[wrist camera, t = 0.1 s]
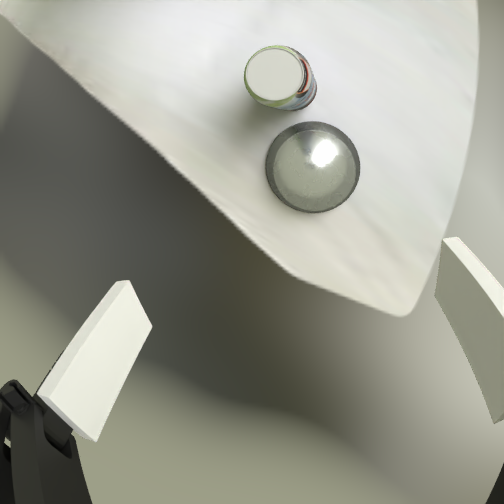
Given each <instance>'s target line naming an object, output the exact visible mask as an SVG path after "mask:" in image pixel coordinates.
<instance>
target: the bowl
mask: <svg viewBox="0 0 504 504" xmlns="http://www.w3.org/2000/svg"><path fill="white" fill-rule="evenodd" d="M266 172H267V177H268V181H269V183H270V186H271V188H272V190H273V191H274V193H275V194H276V195H277V197H278V198H279V199H280V200H281V201H283V202H284V203H285V204H286V205H288V206H290V207H292V208H294V209H296V210H299V211H302V212H308V213H319V212H325V211H328V210H331V209H334V208H336V207H338V206H339V205H341V204H342V203H343V202H345V201H346V200H347V199H348V198H349V197H350V195H351V194H352V193H353V191H354V189H355V187H356V185H357V183H358V180H359V175H360V161H359V156H358V153H357V150H356V148H355V146H354V144H353V143H352V141H351V140H350V139H349V138H348V137H347V136H346V135H345V134H344V133H343V132H342V131H340V130H339V129H337V128H336V127H334V126H332V125H329V124H326V123H322V122H314V121H310V122H302V123H298V124H295V125H293V126H291V127H289V128H287V129H286V130H284V131H283V132H282V133H281V134H280V135H279V136H278V137H277V138H276V139H275V141H274V142H273V144H272V145H271V148H270V150H269V153H268V156H267V162H266Z"/></svg>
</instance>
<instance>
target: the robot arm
mask: <svg viewBox="0 0 504 504" xmlns="http://www.w3.org/2000/svg"><path fill="white" fill-rule="evenodd" d="M435 298H436V299H437V301H438V303H439V304H440V306H441V308H442V310H443V312H444V314H445V315H446V317H447V319H448V321H449V322H450V325H451V327H452V328H453V330H454V332H455V334H456V336H457V338H458V340H459V342H460V344H461V346H462V348H463V350H464V352H465V354H466V357H467V359H468V361H469V363H470V365H471V368H472V370H473V372H474V374H475V377H476V379H477V381H478V384H479V386H480V388H481V391H482V394H483V396H484V399H485V401H486V404H487V407H488V409H489V412H490V415H491V418H492V420H493V423H494V424H495V423H497V422H499V421H502V420H503V419H504V289H503V288H502V286H501V285H500V284H499V283H498V281H497V280H496V279H495V278H494V277H493V275H492V274H491V273H490V272H489V271H488V270H487V268H486V267H485V266H484V265H483V264H482V263H481V262H480V260H479V259H478V258H477V257H476V256H475V255H474V254H473V253H472V252H471V251H470V249H468V247H466V245H465V244H464V243H463V242H462V241H461V240H460V239H459V238H458V237H453V238H447V239H442V244H441V254H440V263H439V270H438V277H437V283H436V289H435ZM151 328H152V325H151V323H150V321H149V319H148V317H147V315H146V313H145V311H144V309H143V308H142V306H141V304H140V302H139V300H138V298H137V296H136V293H135V291H134V289H133V287H132V285H131V283H130V281H129V280H125V281H117V282H116V283H115V284H114V285H113V286H112V288H111V289H110V290H109V291H108V293H107V294H106V295H105V296H104V298H103V299H102V300H101V302H100V303H99V304H98V306H97V307H96V308H95V310H94V311H93V312H92V314H91V315H90V316H89V318H88V319H87V320H86V321H85V323H84V324H83V326H82V327H81V328H80V330H79V331H78V332H77V334H76V335H75V337H74V338H73V340H72V341H71V342H70V344H69V345H68V347H67V348H66V349H65V350H64V351H63V352H62V353H61V354H60V356H59V357H58V359H57V360H56V361H57V362H55V363H54V365H53V366H52V370H50V371H49V372H48V374H47V375H46V377H45V378H44V380H43V382H42V383H41V385H40V386H39V388H38V389H37V391H36V393H35V394H34V396H33V397H31V395H30V394H29V393H28V392H27V391H26V390H25V389H24V387H23V386H22V385H21V384H20V383H19V382H18V381H17V380H11V381H8V382H7V383H6V384H5V385H4V386H3V387H2V388H1V389H0V504H92V501H91V498H90V495H89V492H88V489H87V485H86V481H85V478H84V474H83V470H82V467H81V463H80V459H79V454H78V449H77V445H76V440H75V438H74V436H73V435H71V433H72V431H73V430H74V431H75V432H77V433H78V434H79V435H80V436H81V437H82V438H86V439H88V440H91V441H94V442H96V441H97V440H98V437H99V435H100V433H101V430H102V428H103V426H104V424H105V422H106V419H107V417H108V415H109V413H110V411H111V409H112V407H113V404H114V402H115V400H116V398H117V396H118V394H119V392H120V390H121V388H122V386H123V384H124V381H125V379H126V377H127V375H128V373H129V371H130V369H131V367H132V365H133V363H134V361H135V359H136V357H137V355H138V353H139V351H140V350H141V347H142V346H143V343H144V342H145V340H146V338H147V336H148V334H149V332H150V330H151ZM5 437H6V438H7V439H8V440H9V441H11V448H10V447H9V446H7V445H6V444H5V443H4V441H5ZM486 504H504V464H503V466H502V469H501V472H500V474H499V476H498V478H497V481H496V483H495V485H494V487H493V489H492V491H491V494H490V496H489V498H488V500H487V502H486Z"/></svg>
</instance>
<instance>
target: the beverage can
mask: <svg viewBox="0 0 504 504" xmlns="http://www.w3.org/2000/svg"><path fill="white" fill-rule="evenodd" d="M244 82H245V85H246V88H247V90H248V92H249V93H250V95H251V96H252V97H253V98H254V99H255V100H256V101H258V102H259V103H261V104H263V105H266V106H269V107H273V108H278V109H283V110H287V111H296V110H301V109H303V108H305V107H306V106H308V105H309V104H310V103H311V102H312V101H313V99H314V97H315V95H316V91H317V85H316V81H315V78H314V75H313V73H312V70H311V68H310V65H309V63H308V62H307V60H306V59H305V58H304V56H303V55H302V54H300V53H299V52H298V51H296V50H294V49H292V48H290V47H286V46H277V45H276V46H269V47H266V48H263V49H261V50H259V51H258V52H256V53H255V54H254V55H253V56H252V57H251V58H250V59H249V61H248V62H247V65H246V67H245V71H244Z"/></svg>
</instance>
